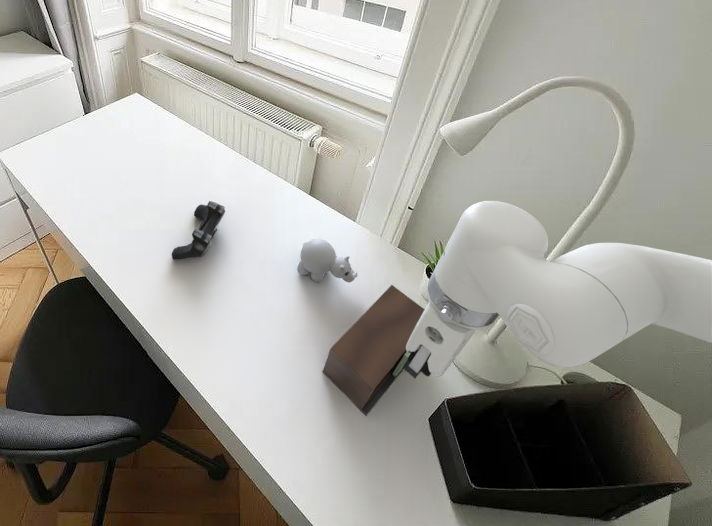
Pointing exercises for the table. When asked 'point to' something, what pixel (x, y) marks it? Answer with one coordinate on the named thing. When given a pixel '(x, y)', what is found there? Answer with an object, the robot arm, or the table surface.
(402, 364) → the sliding door
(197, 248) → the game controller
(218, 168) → the table surface
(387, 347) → the cabinet
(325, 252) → the round bodied animal figurine
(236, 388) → the table surface
